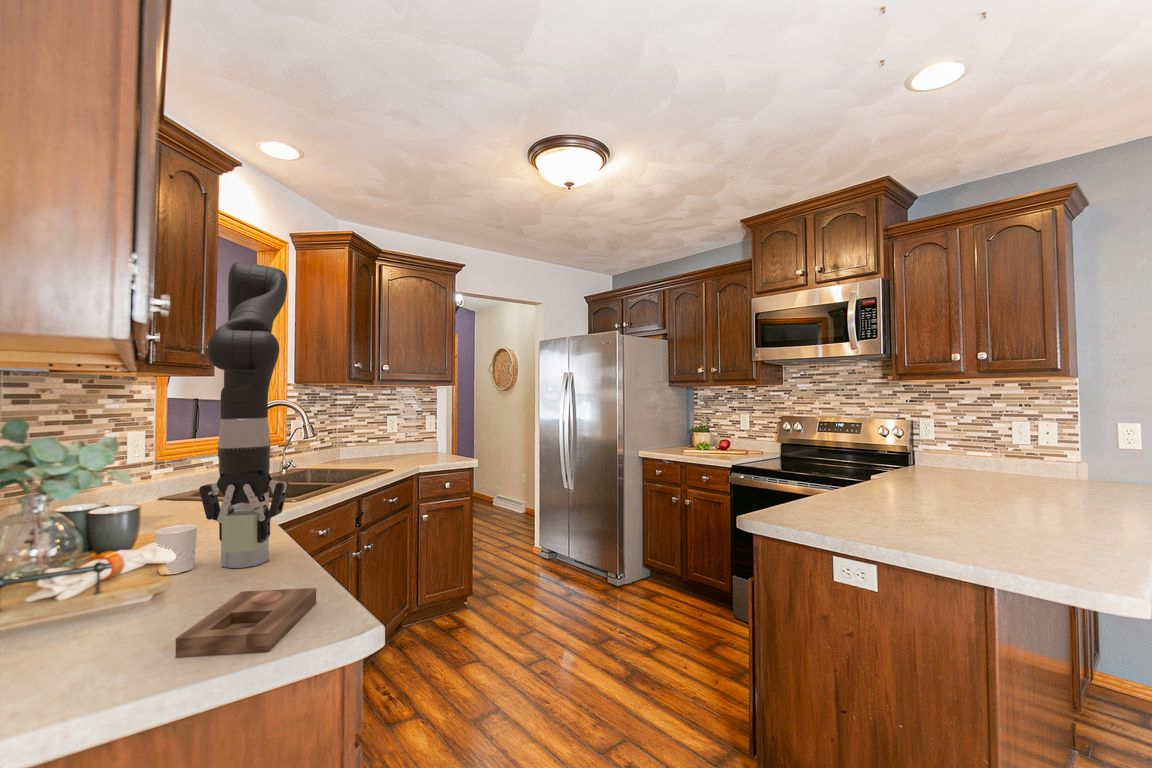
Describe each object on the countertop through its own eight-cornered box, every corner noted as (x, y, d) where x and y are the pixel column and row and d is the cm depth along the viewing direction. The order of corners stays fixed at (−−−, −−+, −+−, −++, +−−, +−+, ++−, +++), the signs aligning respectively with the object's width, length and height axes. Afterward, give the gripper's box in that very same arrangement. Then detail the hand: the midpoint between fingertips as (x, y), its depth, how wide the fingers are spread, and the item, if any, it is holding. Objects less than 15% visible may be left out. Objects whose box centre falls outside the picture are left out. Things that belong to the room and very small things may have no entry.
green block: (221, 552, 89) (221, 516, 89) (237, 544, 94) (237, 510, 94) (253, 551, 89) (253, 515, 89) (267, 543, 94) (267, 509, 94)
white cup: (152, 571, 125) (152, 529, 125) (192, 563, 131) (192, 523, 131) (158, 579, 120) (159, 535, 120) (200, 570, 126) (200, 528, 126)
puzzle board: (175, 657, 84) (175, 634, 84) (241, 606, 103) (241, 588, 104) (268, 651, 85) (268, 629, 85) (316, 603, 105) (316, 584, 105)
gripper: (296, 441, 96) (297, 535, 96) (213, 443, 95) (213, 539, 94) (278, 444, 89) (278, 546, 88) (187, 447, 87) (187, 551, 87)
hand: (244, 542), depth 91 cm, fingers closed on green block, 5 cm apart
